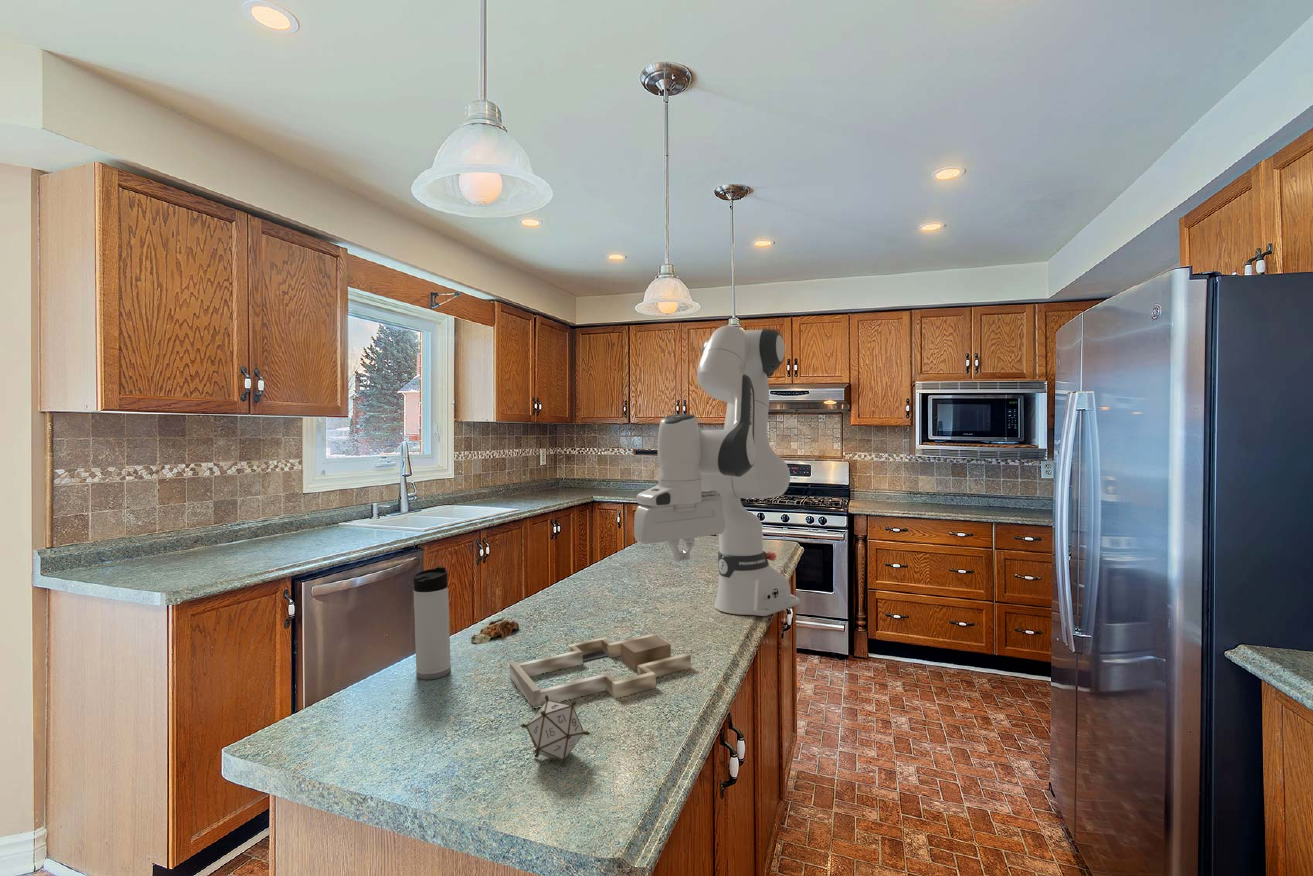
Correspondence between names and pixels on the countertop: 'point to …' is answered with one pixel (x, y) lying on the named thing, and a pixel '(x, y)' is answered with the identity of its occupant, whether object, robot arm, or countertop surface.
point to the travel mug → (432, 624)
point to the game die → (555, 730)
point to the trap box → (596, 683)
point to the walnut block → (644, 651)
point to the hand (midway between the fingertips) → (681, 560)
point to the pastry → (495, 630)
